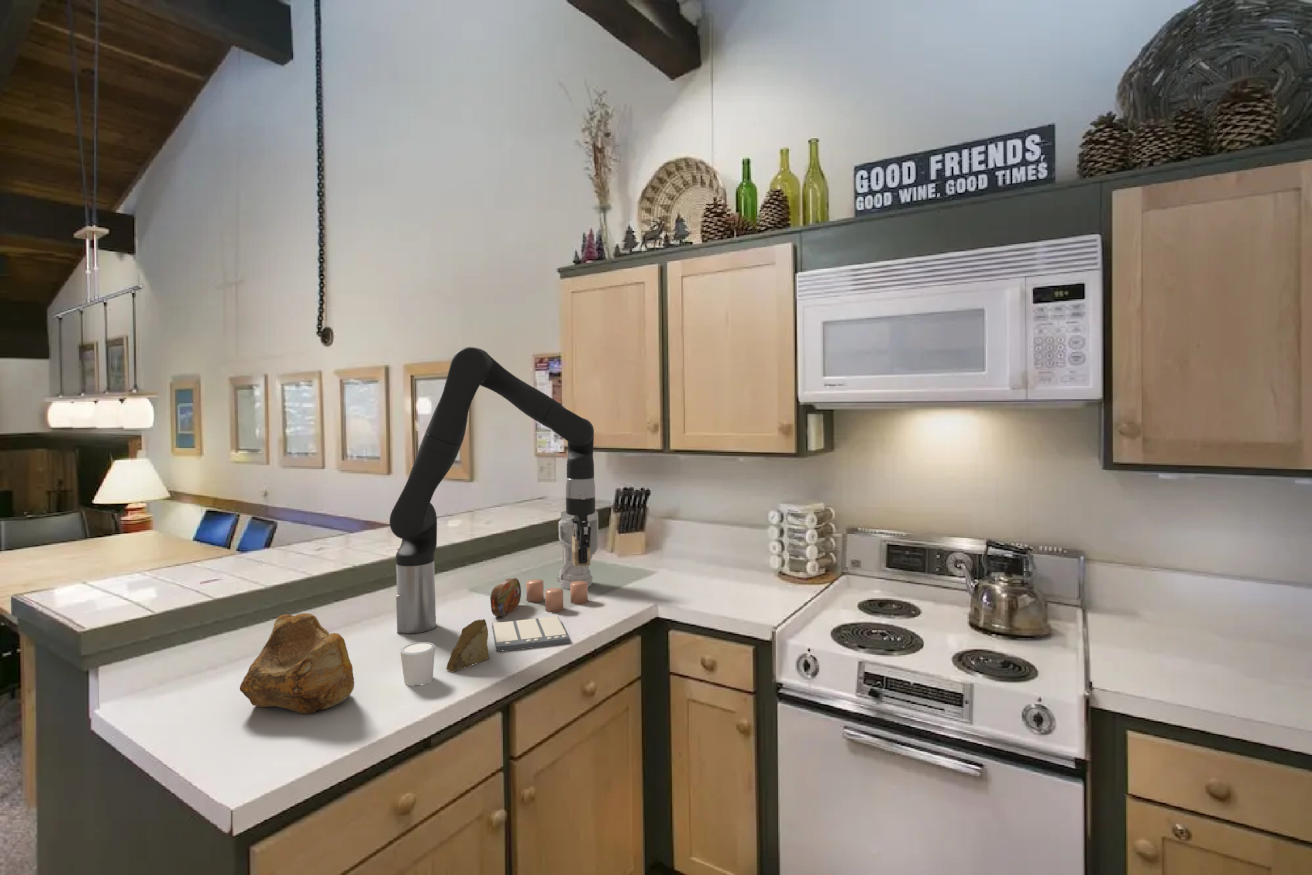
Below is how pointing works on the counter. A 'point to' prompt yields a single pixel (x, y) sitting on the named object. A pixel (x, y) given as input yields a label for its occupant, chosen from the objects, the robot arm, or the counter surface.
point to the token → (575, 553)
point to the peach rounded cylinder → (535, 590)
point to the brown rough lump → (300, 667)
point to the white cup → (418, 663)
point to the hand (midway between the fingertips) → (581, 560)
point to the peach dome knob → (554, 600)
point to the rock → (470, 646)
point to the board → (529, 633)
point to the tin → (505, 597)
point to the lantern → (569, 570)
